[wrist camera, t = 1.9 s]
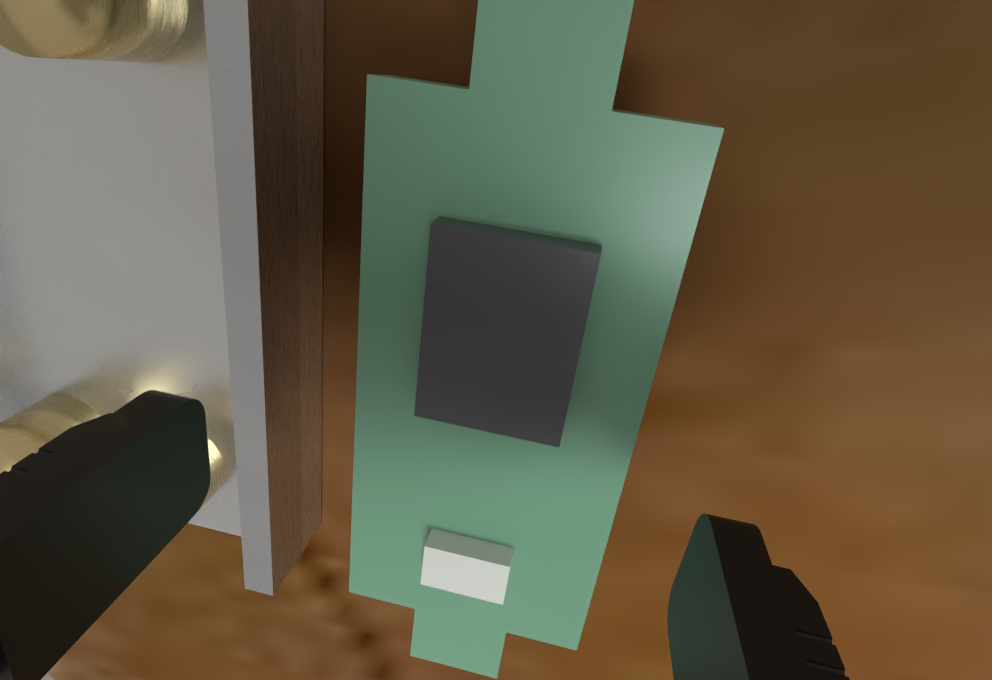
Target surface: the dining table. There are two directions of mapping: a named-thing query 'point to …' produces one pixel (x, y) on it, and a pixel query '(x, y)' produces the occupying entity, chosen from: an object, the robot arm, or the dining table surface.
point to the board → (511, 324)
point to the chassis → (170, 240)
